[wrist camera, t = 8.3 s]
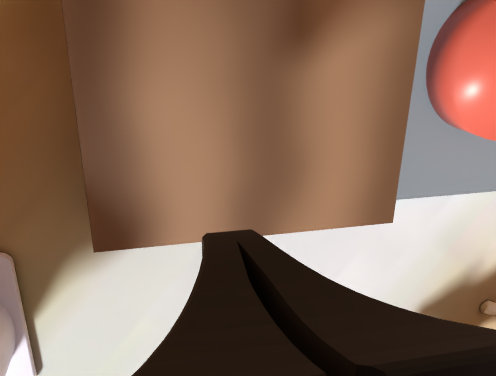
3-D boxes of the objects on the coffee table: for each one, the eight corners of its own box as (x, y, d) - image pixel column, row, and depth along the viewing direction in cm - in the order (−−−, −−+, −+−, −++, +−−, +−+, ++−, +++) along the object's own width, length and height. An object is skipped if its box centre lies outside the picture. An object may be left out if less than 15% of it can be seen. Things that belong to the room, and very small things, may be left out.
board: (99, 222, 21) (93, 252, 19) (49, -189, 16) (30, -233, 13) (364, 199, 24) (392, 222, 22) (405, -151, 19) (451, -179, 16)
